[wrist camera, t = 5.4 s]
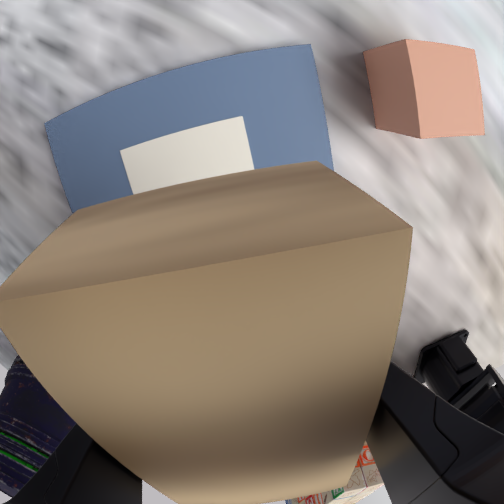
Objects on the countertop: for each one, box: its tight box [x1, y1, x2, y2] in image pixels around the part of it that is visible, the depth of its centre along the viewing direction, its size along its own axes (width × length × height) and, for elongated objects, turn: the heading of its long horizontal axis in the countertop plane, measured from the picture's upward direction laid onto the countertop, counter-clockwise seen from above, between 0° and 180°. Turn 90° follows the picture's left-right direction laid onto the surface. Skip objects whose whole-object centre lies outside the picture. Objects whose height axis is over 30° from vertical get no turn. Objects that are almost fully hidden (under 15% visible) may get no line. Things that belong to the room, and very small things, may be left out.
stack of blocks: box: [285, 440, 384, 504], centre depth 31 cm, size 21×6×12 cm, turn 169°
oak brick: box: [0, 161, 413, 504], centre depth 7 cm, size 10×6×4 cm, turn 9°
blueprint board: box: [44, 44, 334, 213], centre depth 18 cm, size 18×16×1 cm
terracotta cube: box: [363, 39, 485, 139], centre depth 13 cm, size 5×5×5 cm
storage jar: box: [0, 355, 76, 498], centre depth 17 cm, size 10×10×15 cm
